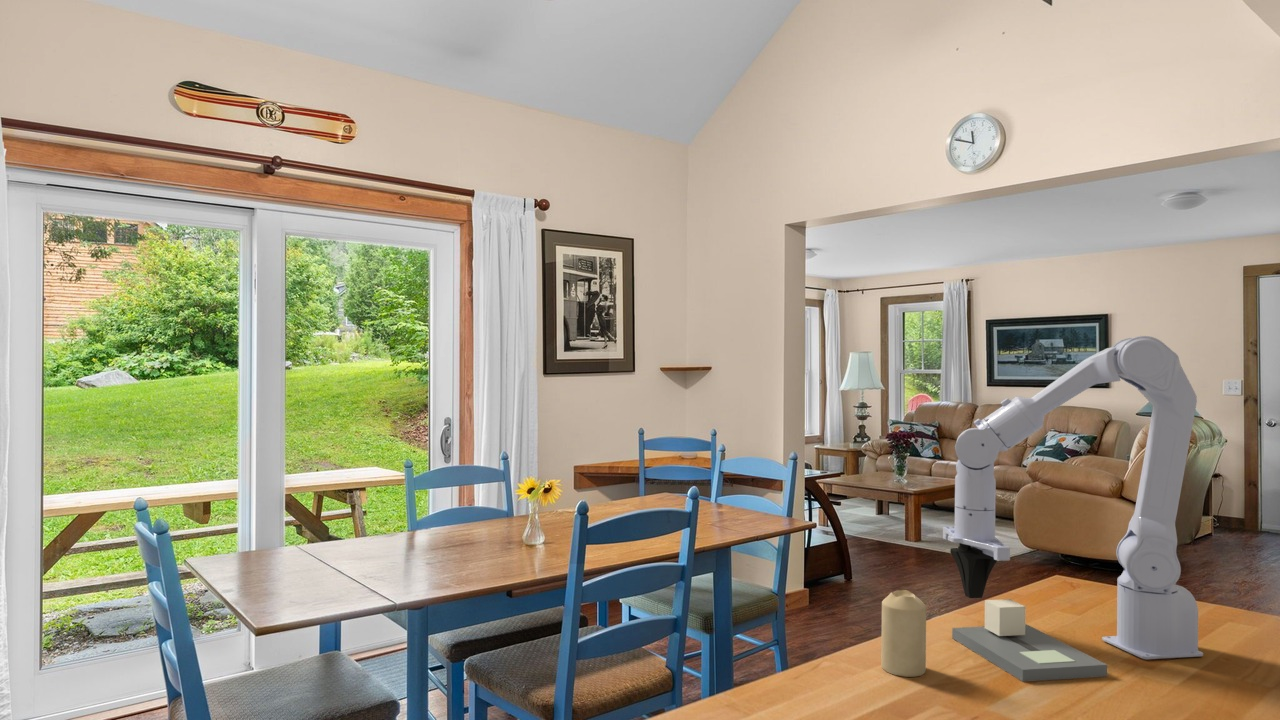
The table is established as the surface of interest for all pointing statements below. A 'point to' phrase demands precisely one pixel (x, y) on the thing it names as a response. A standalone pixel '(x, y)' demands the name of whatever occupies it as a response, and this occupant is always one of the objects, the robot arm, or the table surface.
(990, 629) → the knob
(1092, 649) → the table surface
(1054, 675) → the slider board
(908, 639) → the candle
